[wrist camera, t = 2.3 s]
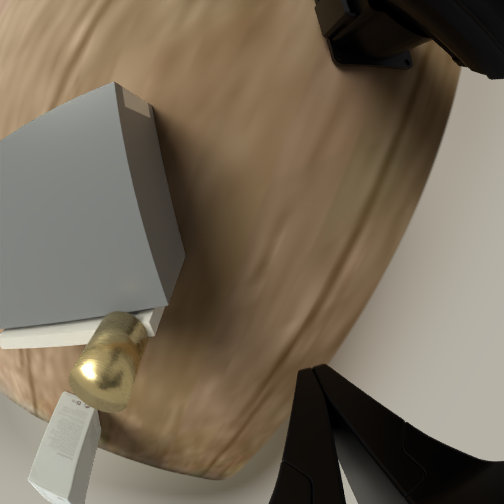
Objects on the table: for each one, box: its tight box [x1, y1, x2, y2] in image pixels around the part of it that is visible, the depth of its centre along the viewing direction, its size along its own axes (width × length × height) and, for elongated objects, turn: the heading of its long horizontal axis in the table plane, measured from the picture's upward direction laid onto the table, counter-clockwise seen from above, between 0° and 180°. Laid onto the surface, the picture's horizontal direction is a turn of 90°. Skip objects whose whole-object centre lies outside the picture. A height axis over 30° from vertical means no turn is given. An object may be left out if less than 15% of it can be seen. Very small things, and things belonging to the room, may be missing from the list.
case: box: [0, 82, 186, 329], centre depth 13 cm, size 14×10×6 cm
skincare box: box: [28, 391, 101, 504], centre depth 17 cm, size 6×4×12 cm
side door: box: [0, 306, 165, 413], centre depth 13 cm, size 12×2×11 cm, turn 100°
